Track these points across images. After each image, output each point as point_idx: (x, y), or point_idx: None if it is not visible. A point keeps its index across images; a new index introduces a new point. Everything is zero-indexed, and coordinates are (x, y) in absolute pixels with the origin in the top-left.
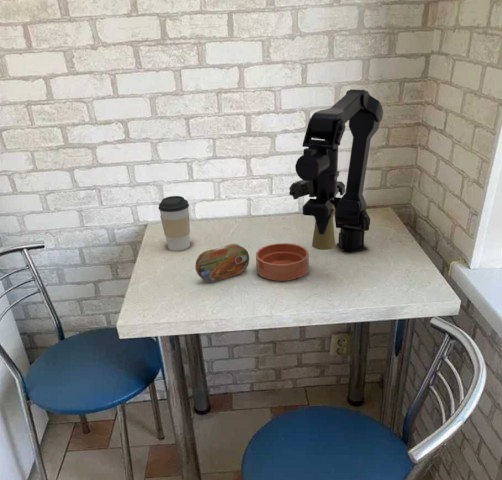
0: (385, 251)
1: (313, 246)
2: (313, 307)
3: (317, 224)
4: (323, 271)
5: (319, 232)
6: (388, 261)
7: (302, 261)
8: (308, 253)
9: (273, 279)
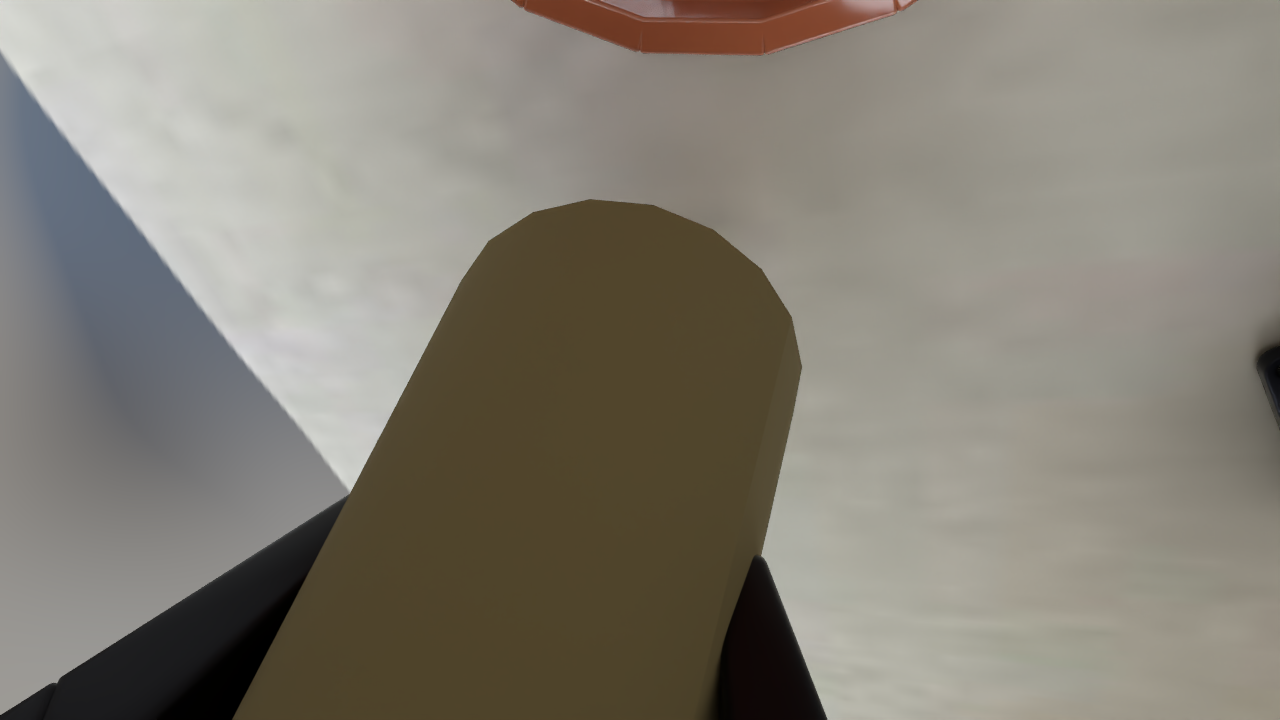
0: (1223, 614)
1: (491, 245)
2: (164, 193)
3: (106, 663)
4: (786, 177)
5: (328, 514)
6: (1009, 612)
7: (524, 7)
8: (791, 43)
9: None
